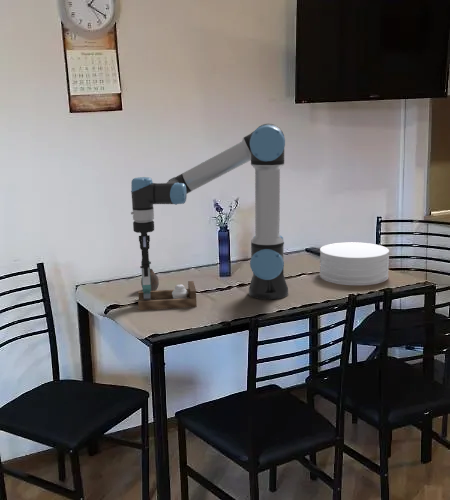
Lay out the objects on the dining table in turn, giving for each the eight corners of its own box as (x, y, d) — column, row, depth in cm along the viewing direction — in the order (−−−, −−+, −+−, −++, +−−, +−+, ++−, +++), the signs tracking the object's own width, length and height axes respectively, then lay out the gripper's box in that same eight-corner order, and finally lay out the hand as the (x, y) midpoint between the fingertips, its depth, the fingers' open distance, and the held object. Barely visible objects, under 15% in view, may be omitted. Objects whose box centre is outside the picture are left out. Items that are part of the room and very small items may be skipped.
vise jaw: (151, 299, 261) (149, 258, 258) (151, 307, 252) (149, 264, 249) (143, 299, 261) (141, 258, 257) (143, 307, 252) (141, 265, 248)
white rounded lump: (184, 305, 254) (183, 287, 253) (169, 303, 256) (168, 285, 255) (191, 300, 260) (190, 282, 258) (176, 299, 262) (176, 281, 260)
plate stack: (400, 282, 278) (401, 254, 276) (335, 288, 272) (336, 260, 269) (369, 265, 305) (370, 240, 302) (310, 270, 299) (310, 245, 296)
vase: (145, 294, 269) (144, 272, 267) (139, 290, 275) (137, 268, 273) (161, 291, 272) (160, 270, 270) (155, 287, 278) (154, 266, 276)
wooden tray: (193, 296, 265) (193, 281, 264) (196, 306, 252) (196, 290, 251) (138, 299, 263) (137, 283, 262) (138, 310, 250) (137, 294, 248)
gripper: (133, 217, 257) (136, 278, 262) (132, 225, 241) (136, 289, 247) (153, 216, 258) (156, 276, 263) (154, 224, 242) (157, 288, 248)
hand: (146, 283), depth 255 cm, fingers closed on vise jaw, 3 cm apart
